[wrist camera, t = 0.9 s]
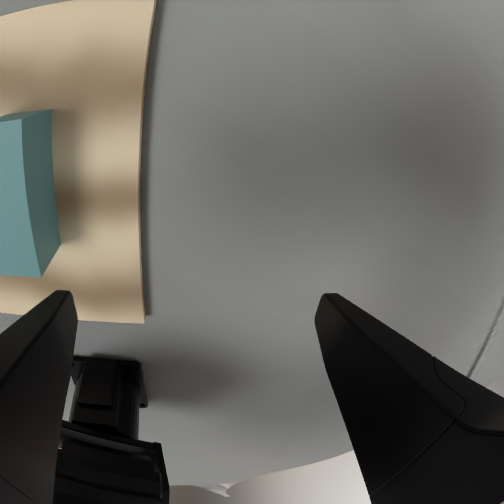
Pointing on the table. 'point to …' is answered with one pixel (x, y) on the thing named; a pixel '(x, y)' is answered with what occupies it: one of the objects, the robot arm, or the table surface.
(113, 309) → the wooden base board
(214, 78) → the table surface
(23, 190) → the teal t-shaped block
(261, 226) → the table surface
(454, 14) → the table surface
